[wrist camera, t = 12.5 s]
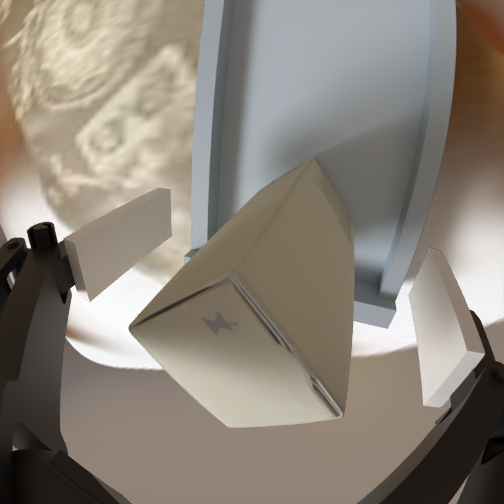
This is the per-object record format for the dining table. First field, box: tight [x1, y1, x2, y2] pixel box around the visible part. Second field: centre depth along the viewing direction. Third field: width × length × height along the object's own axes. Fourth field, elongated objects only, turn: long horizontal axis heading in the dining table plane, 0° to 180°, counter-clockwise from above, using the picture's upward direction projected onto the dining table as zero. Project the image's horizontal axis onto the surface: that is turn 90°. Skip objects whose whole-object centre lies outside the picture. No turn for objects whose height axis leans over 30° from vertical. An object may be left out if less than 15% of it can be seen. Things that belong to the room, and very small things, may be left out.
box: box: [129, 158, 354, 428], centre depth 12 cm, size 5×4×13 cm
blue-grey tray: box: [184, 0, 456, 329], centre depth 14 cm, size 24×14×5 cm, turn 175°
